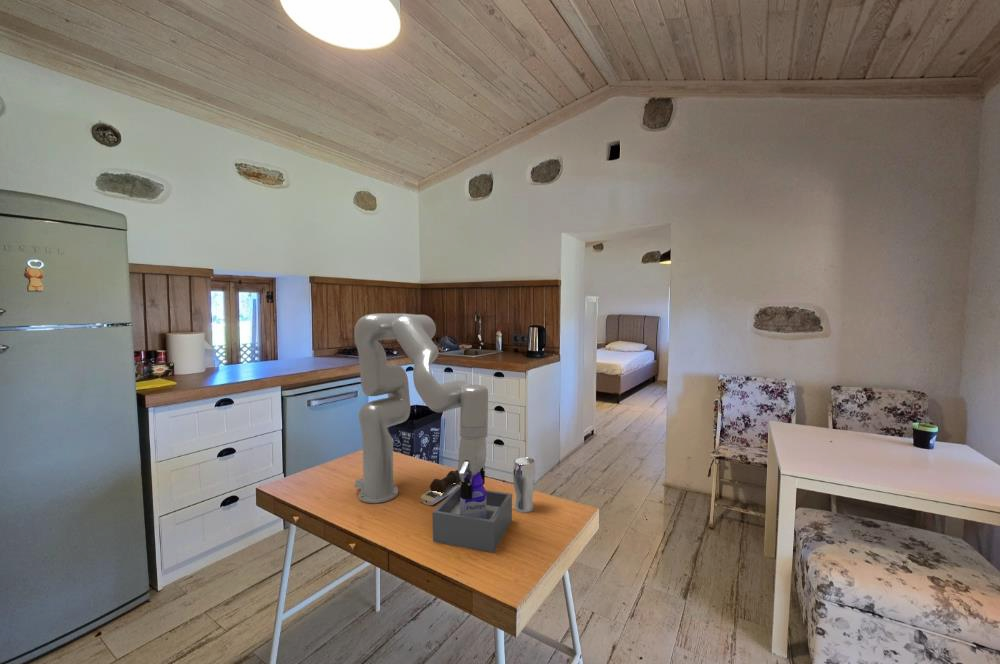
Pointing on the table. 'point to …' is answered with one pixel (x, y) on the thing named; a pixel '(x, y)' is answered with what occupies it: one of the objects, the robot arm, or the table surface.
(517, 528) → the table surface
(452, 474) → the bolt
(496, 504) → the bore box
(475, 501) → the bottle
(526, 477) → the beer glass
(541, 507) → the table surface
